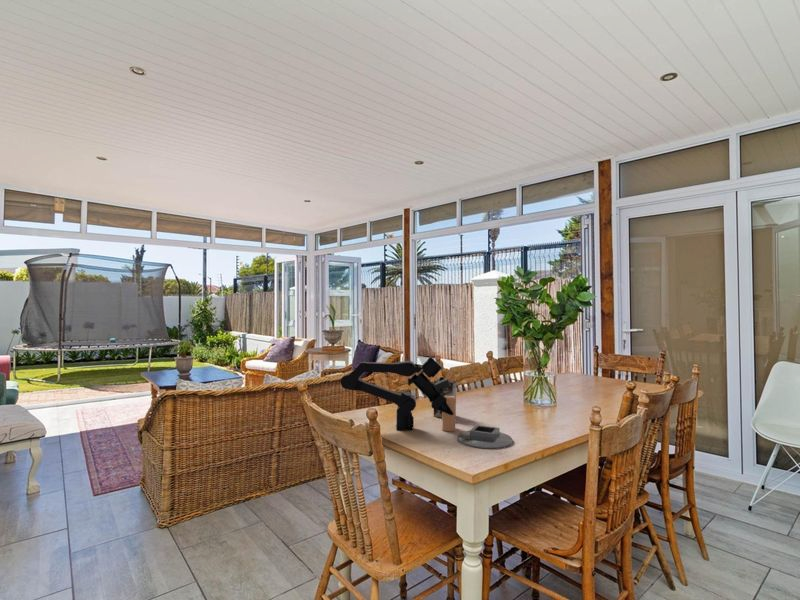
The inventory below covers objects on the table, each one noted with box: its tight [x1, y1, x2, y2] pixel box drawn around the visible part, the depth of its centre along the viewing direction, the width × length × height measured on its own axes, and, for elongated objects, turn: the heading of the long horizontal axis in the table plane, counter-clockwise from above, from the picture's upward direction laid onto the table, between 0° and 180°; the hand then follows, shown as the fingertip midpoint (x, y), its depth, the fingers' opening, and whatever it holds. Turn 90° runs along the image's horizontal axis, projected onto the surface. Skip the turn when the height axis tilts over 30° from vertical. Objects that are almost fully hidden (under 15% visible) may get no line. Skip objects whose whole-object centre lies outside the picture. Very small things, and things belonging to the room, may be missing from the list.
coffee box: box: [433, 379, 457, 418], centre depth 197 cm, size 9×6×16 cm
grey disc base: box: [457, 424, 513, 450], centre depth 162 cm, size 20×20×4 cm
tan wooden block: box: [441, 396, 456, 432], centre depth 176 cm, size 5×5×13 cm
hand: (452, 412), depth 176 cm, fingers closed on tan wooden block, 5 cm apart
